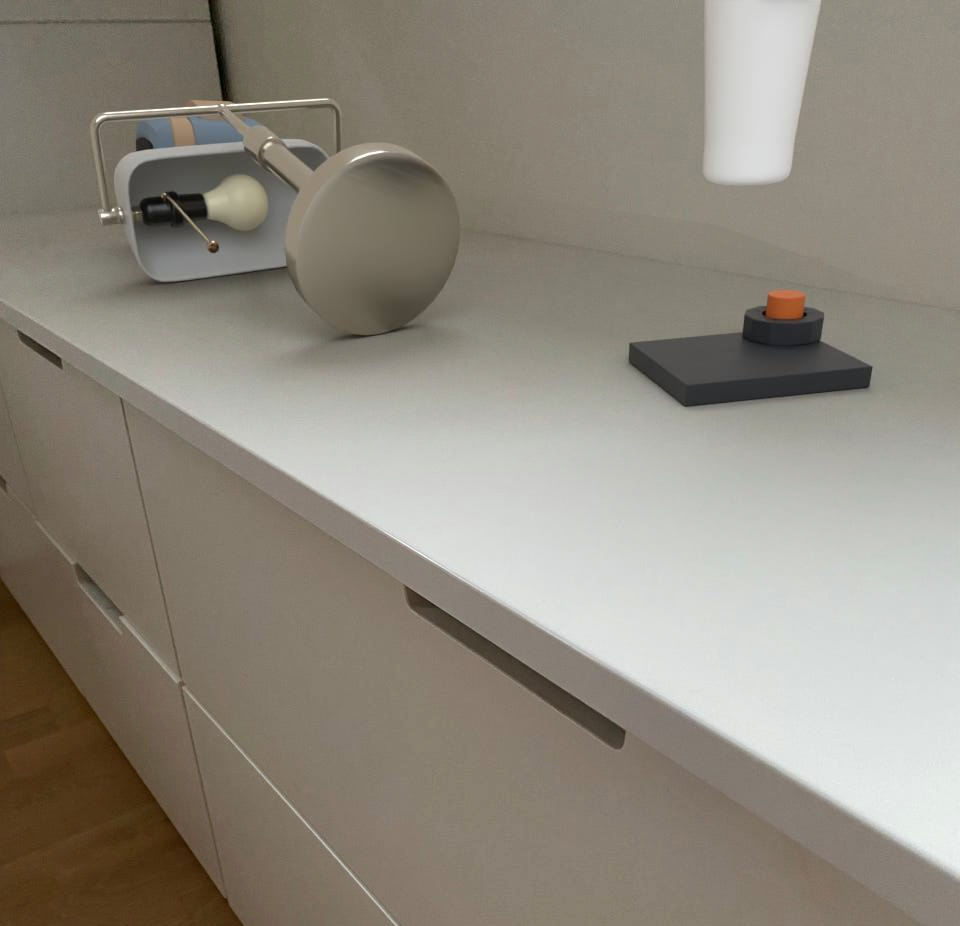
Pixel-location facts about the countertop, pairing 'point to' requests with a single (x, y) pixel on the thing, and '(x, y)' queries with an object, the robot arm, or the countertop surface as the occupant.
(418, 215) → the lamp
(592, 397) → the countertop surface
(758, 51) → the drinking glass
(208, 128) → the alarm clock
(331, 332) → the countertop surface
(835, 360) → the scale
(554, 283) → the countertop surface
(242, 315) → the countertop surface
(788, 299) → the button
